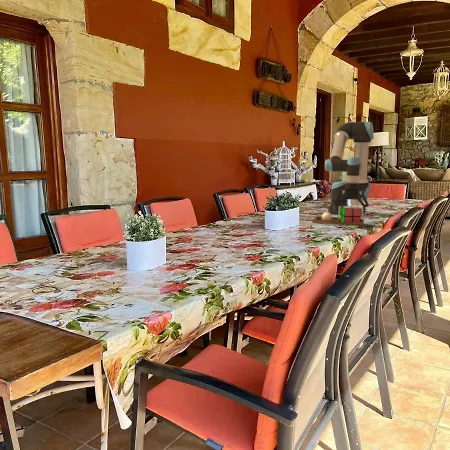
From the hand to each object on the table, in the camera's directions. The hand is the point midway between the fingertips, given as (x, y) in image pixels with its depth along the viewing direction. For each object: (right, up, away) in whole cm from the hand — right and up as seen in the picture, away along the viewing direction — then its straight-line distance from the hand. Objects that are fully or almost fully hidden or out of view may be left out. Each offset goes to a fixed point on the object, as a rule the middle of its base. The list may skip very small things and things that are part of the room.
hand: (350, 217), depth 261 cm
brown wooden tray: (-7, -4, +3) cm, 9 cm away
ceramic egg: (-13, -3, +6) cm, 15 cm away
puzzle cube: (0, -4, +1) cm, 4 cm away
